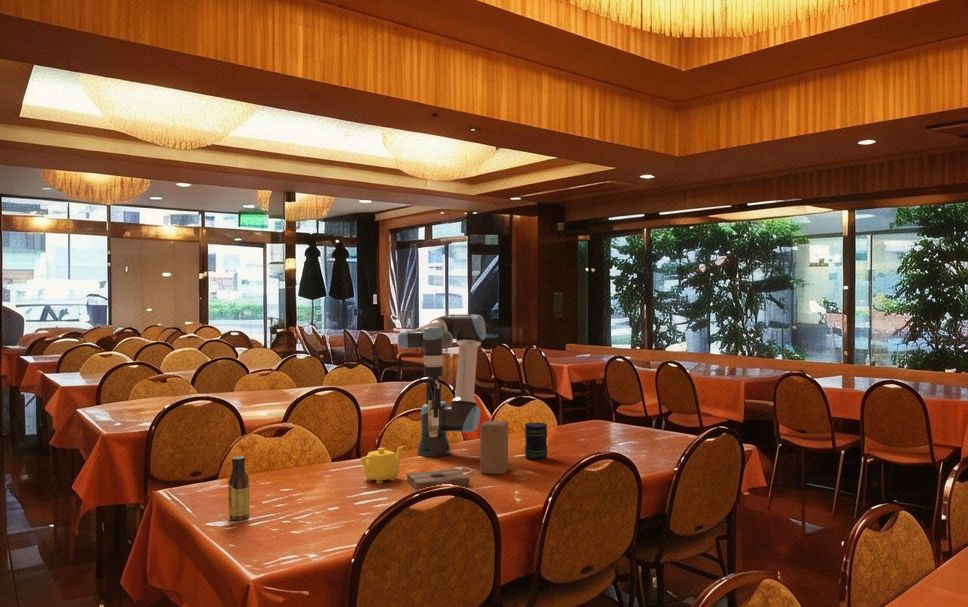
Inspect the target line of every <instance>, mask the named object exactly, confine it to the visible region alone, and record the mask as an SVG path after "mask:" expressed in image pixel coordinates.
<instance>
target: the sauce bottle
mask: <svg viewBox="0 0 968 607" xmlns="http://www.w3.org/2000/svg"><path fill="white" fill-rule="evenodd" d="M245 462H246V456H243V455H236V456H233V457H232V458H231V463H232V470H231V474H230V477H229V480H228V485H227V486H228V515H229V519H230V520H231V521H244V520H246V519H248V518H249V517H250V484H249V475H248V474H247V472H246V468H245V467H246V466H245V465H246V464H245Z"/></svg>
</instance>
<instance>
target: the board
mask: <svg viewBox="0 0 968 607" xmlns="http://www.w3.org/2000/svg"><path fill="white" fill-rule="evenodd" d="M406 474H407V475H406V476H407V477H406V482H407V483H408V484H409V485H411V487H413V489H414V490H416V491H417V490H419V489H423V488H426V487H431V486H436V485H442V484H452V485H458V486H464V487H469V486H470V477H469V476H467V475H466V474H465V473H463V472H461V471H460V470H459V469H457V468H453V469H443V470H432V471H431V470H430V471H422V472H421V471H420V472H413V473H412V472H411V473H406ZM464 487H463V488H464Z"/></svg>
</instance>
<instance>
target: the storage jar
mask: <svg viewBox="0 0 968 607" xmlns="http://www.w3.org/2000/svg"><path fill="white" fill-rule="evenodd" d="M524 438H525V445H524V455H525V456H524V458H525V460H527V461H533V462H538V461H539V462H541V461H546V460H547V459H548V446H547V438H548V424H547V423H543V422H528V423H527V422H526V423H525V424H524Z"/></svg>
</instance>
